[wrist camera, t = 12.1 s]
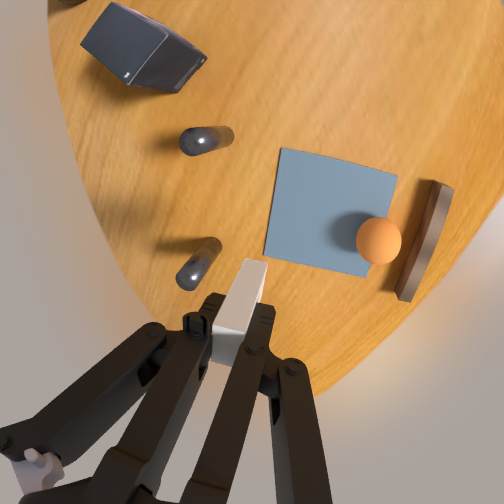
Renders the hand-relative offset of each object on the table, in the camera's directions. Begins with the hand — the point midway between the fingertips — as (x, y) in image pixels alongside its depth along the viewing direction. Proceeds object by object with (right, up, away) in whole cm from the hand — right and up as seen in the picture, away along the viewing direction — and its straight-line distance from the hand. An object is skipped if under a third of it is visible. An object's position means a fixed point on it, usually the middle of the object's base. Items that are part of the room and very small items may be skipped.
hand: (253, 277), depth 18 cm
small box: (-11, +27, +8) cm, 30 cm away
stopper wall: (+22, +3, +12) cm, 25 cm away
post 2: (-5, +3, +19) cm, 20 cm away
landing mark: (+9, +6, +14) cm, 17 cm away
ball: (+14, +3, +11) cm, 18 cm away
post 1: (-3, +15, +12) cm, 20 cm away
